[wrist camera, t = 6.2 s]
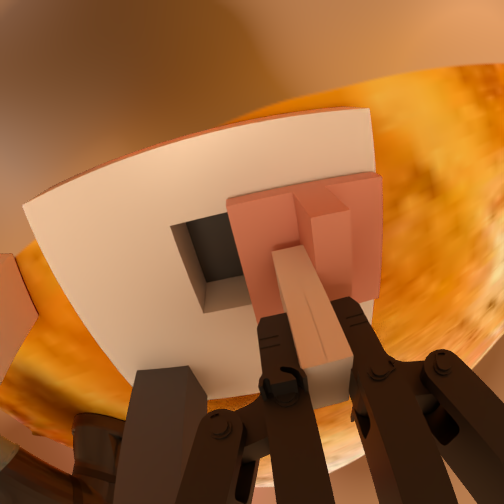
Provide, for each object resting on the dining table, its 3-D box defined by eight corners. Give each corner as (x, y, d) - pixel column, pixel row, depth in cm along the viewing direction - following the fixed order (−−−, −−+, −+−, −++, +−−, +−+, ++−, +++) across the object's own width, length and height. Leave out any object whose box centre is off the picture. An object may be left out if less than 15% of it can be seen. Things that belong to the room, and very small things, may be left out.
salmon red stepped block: (256, 316, 17) (263, 367, 13) (226, 199, 13) (225, 236, 10) (372, 288, 17) (399, 331, 13) (372, 171, 13) (416, 197, 9)
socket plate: (152, 375, 25) (147, 403, 22) (49, 187, 15) (21, 205, 12) (353, 339, 24) (365, 366, 21) (343, 106, 15) (369, 108, 12)
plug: (160, 399, 22) (148, 529, 10) (136, 370, 19) (111, 521, 8) (207, 395, 21) (208, 536, 10) (188, 365, 19) (180, 533, 8)
